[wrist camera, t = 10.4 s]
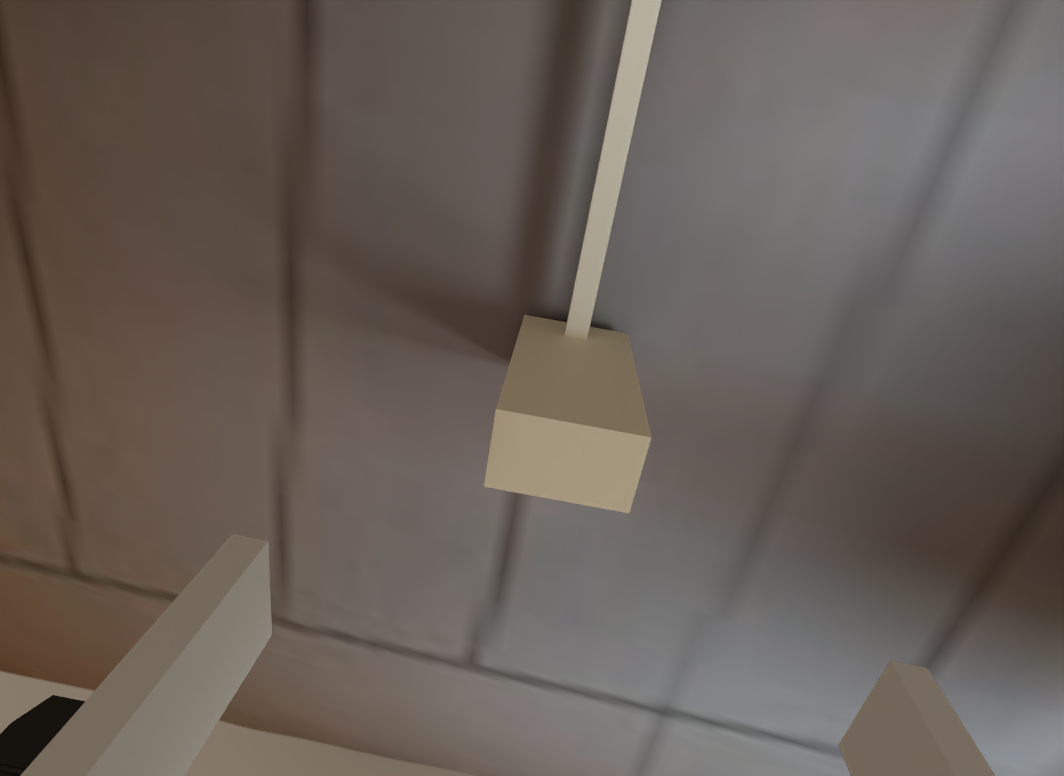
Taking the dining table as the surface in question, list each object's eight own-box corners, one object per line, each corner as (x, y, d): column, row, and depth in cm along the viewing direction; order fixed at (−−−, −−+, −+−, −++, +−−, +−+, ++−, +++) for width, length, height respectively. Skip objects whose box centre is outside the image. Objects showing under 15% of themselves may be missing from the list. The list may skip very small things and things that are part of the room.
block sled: (643, 395, 28) (672, 521, 19) (485, 366, 28) (440, 478, 19) (880, -461, 17) (1243, -1172, 7) (609, -510, 17) (644, -1280, 8)
